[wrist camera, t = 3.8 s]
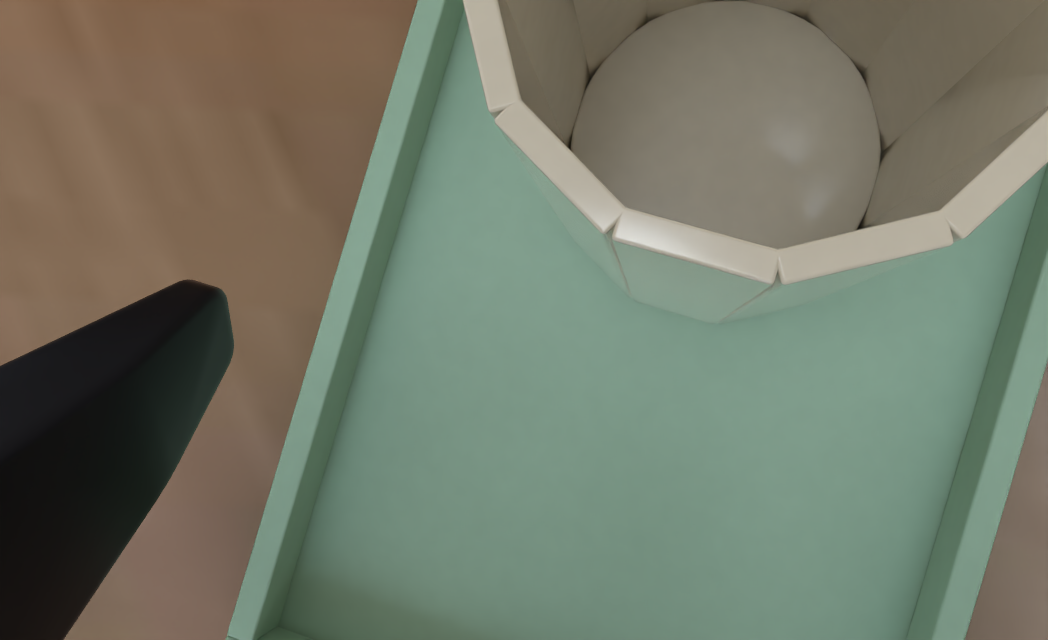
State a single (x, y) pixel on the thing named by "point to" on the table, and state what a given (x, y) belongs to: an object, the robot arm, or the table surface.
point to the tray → (629, 421)
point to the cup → (765, 134)
